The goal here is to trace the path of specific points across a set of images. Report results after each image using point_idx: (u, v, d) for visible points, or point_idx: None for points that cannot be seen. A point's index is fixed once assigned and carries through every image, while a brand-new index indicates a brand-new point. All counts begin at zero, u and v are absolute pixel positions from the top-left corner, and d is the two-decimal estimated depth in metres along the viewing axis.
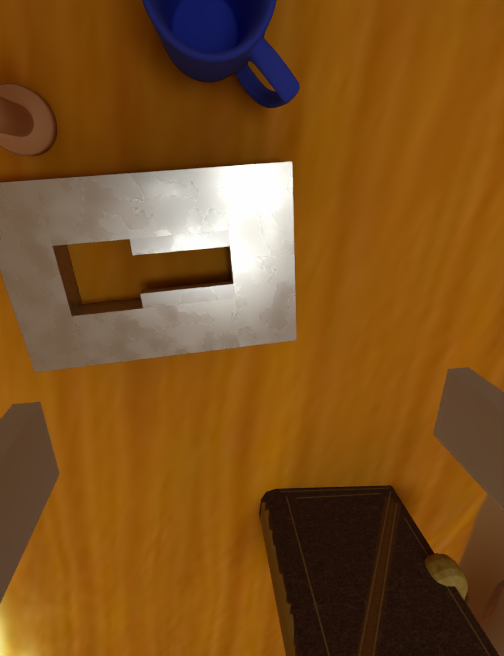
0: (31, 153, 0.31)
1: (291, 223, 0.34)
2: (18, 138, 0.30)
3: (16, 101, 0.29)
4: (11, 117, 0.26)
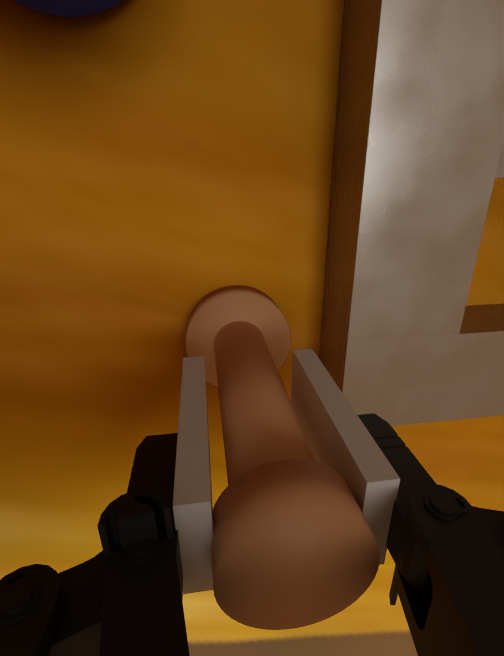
0: (288, 334, 0.18)
1: None
2: None
3: (211, 340, 0.17)
4: (260, 361, 0.13)
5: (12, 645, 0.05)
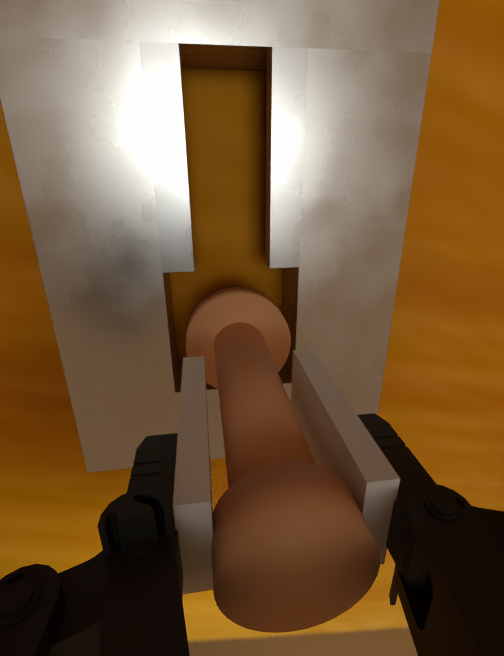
0: (288, 335, 0.18)
1: None
2: None
3: (211, 341, 0.17)
4: (260, 363, 0.13)
5: (12, 645, 0.05)
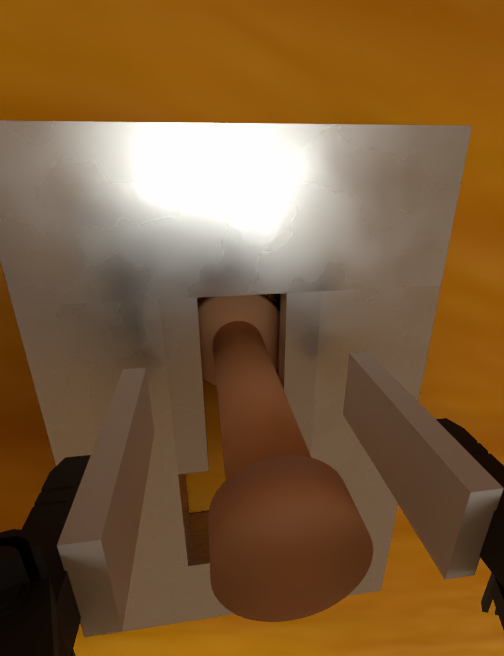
0: None
1: (137, 129, 0.12)
2: None
3: (210, 340, 0.17)
4: (258, 360, 0.14)
5: None
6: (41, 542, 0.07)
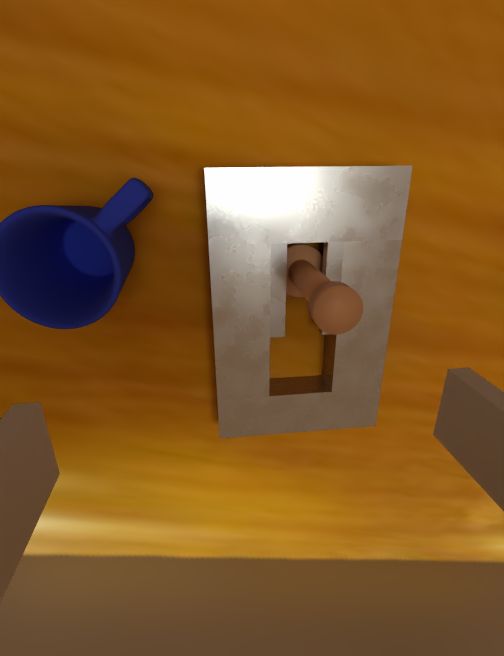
0: None
1: (270, 169, 0.29)
2: None
3: (287, 269, 0.34)
4: (316, 269, 0.31)
5: None
6: None
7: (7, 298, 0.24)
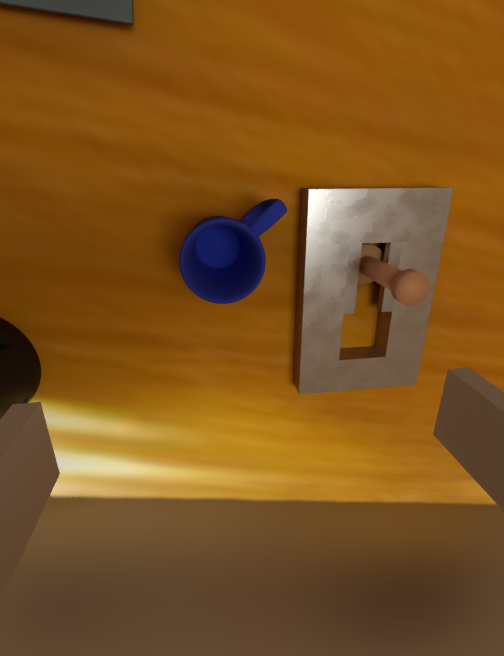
0: None
1: (354, 190, 0.40)
2: None
3: None
4: None
5: None
6: None
7: (188, 281, 0.35)
